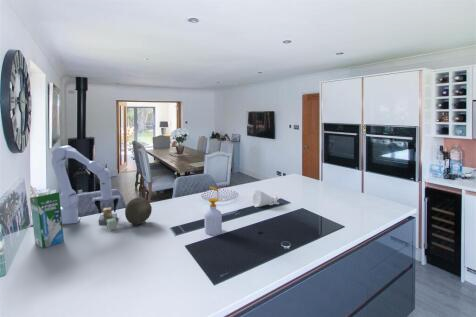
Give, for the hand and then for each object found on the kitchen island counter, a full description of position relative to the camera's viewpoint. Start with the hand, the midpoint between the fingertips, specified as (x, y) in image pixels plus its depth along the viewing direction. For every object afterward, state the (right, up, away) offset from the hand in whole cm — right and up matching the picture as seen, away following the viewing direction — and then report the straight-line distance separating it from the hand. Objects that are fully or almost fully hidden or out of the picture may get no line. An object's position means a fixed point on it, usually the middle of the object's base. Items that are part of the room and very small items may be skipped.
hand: (107, 212), depth 159 cm
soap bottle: (+63, -8, -14) cm, 65 cm away
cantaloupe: (+20, -6, -4) cm, 21 cm away
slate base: (0, -5, +1) cm, 5 cm away
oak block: (0, -3, 0) cm, 3 cm away
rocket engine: (+97, -2, +29) cm, 101 cm away
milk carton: (-15, -10, -27) cm, 32 cm away
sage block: (+7, -7, -10) cm, 14 cm away
